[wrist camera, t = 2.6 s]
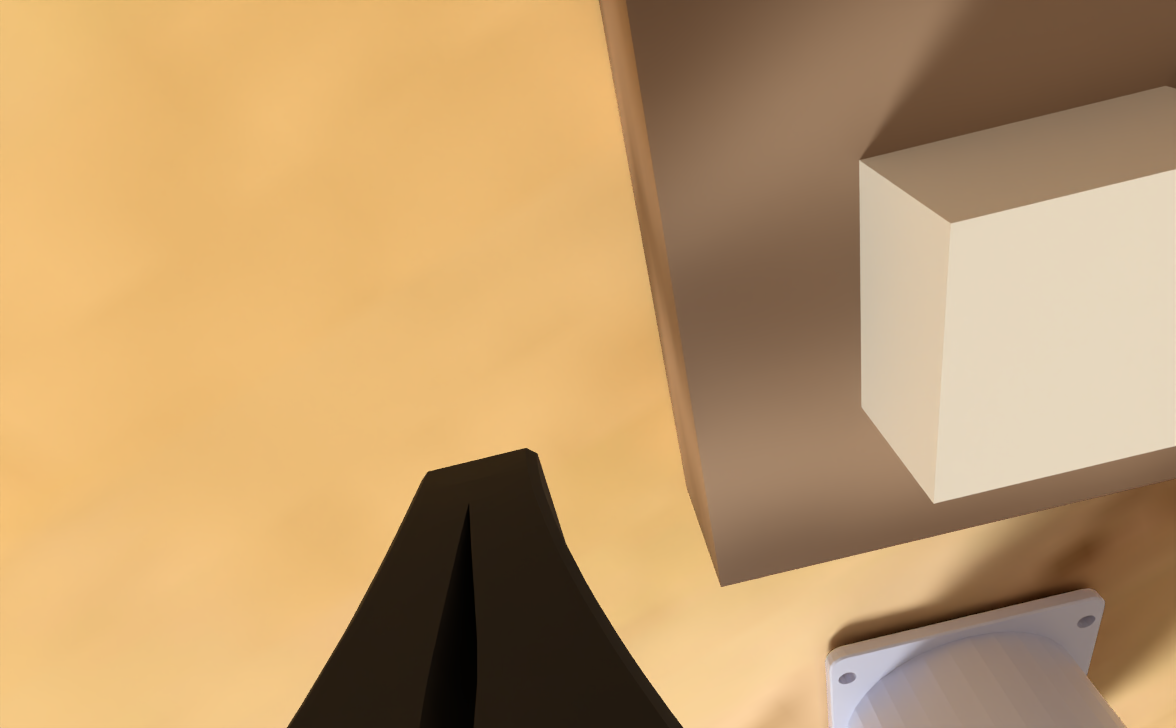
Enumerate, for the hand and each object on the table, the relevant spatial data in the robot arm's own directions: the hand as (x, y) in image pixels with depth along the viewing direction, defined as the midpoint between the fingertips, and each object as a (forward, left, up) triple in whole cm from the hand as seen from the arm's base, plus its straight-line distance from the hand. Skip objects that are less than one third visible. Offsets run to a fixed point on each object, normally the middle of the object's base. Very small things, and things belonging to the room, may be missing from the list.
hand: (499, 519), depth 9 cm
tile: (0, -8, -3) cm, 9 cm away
